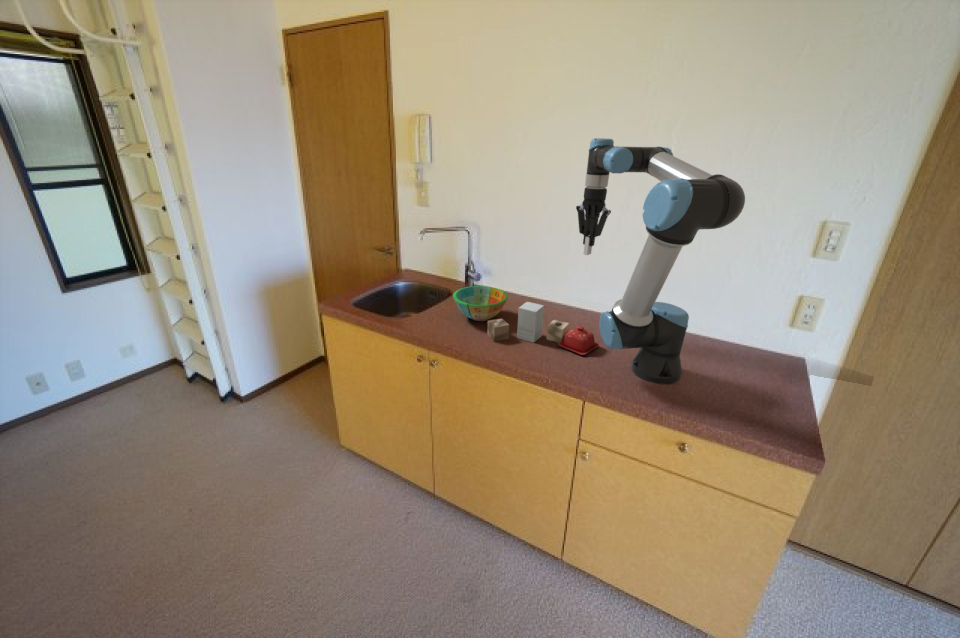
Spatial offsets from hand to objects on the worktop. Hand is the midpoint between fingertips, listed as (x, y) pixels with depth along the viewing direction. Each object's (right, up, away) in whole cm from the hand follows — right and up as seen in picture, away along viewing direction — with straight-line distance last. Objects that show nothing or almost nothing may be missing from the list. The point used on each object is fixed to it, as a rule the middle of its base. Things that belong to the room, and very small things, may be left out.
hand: (587, 254), depth 154 cm
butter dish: (-4, -34, -1) cm, 35 cm away
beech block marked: (-10, -31, +5) cm, 33 cm away
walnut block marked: (-33, -31, +5) cm, 45 cm away
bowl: (-39, -23, +20) cm, 50 cm away
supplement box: (-21, -31, +6) cm, 37 cm away
